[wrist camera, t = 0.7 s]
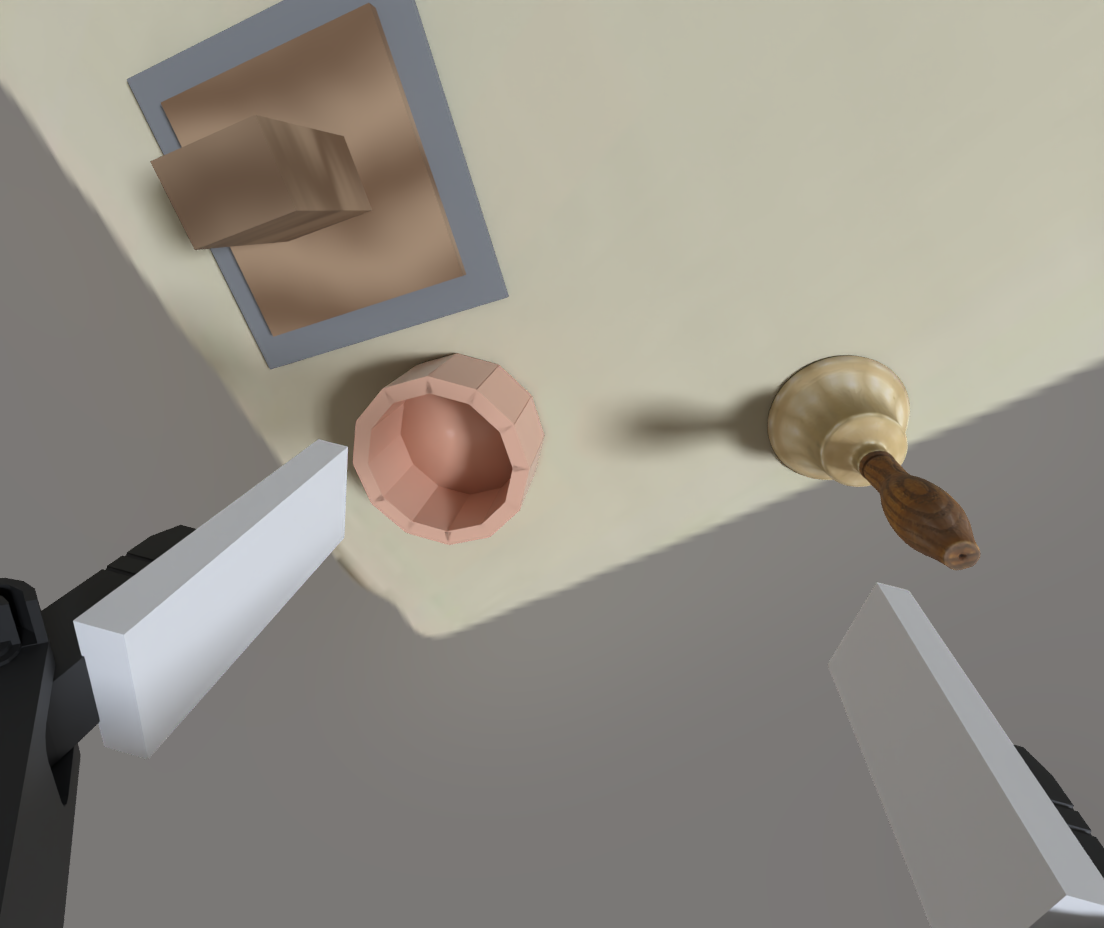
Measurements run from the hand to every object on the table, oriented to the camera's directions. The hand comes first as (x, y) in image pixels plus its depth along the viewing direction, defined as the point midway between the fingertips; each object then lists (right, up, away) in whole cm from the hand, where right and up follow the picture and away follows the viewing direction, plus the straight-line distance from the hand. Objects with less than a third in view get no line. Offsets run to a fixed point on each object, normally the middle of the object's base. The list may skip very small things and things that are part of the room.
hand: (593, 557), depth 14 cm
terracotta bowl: (-7, +5, +26) cm, 27 cm away
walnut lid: (-15, +19, +20) cm, 31 cm away
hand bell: (+17, +5, +22) cm, 28 cm away
